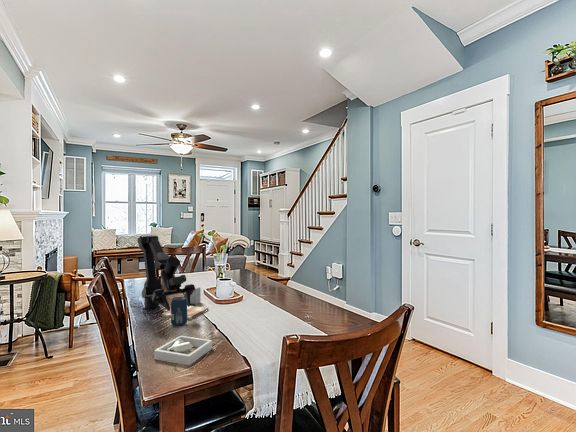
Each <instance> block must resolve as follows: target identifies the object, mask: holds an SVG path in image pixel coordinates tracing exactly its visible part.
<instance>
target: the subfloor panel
mask: <svg viewBox="0 0 576 432" xmlns="http://www.w3.org/2000/svg"><path fill="white" fill-rule="evenodd" d="M206 310H208V311H209V307H205V306H204V307H203V306H193V305H190V307H188V305H187V321H190V320H192V319H195V318H197V317H198V316H200V315H202V314H204V313H206V312H207V311H206ZM205 311H206V312H205ZM203 312H204V313H203ZM161 317H162V318H163V317H164V318H170V319H171V309H170V311H168V310H167V311H164V312H163V313H161Z"/></svg>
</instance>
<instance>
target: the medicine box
mask: <svg viewBox="0 0 576 432" xmlns="http://www.w3.org/2000/svg"><path fill="white" fill-rule="evenodd" d="M201 294H202V293H201V287H200V286H195V290H194V292H193V293H192V295H190V305H191V304H192V305H197V303H198V304H200V303H201V302H200V301H202V300H201V299H202V298H201ZM199 302H200V303H199Z"/></svg>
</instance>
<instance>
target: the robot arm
mask: <svg viewBox="0 0 576 432" xmlns="http://www.w3.org/2000/svg"><path fill="white" fill-rule="evenodd" d="M159 240H160V239H159V236H158V235H156V234H154V235H153V234H147V235H146V234H143V235H139V237H137V244H138V247H139V249H140V250H141V251H142V252H143V260H144V268H145V275H146V276H145V277H146V279H145V281H144V284H143V289H142V291H141V293H140V294H141V298H142V299H144V307H143V308H142V310H145V311H146V310H147V311H155V310H156V309H159V308H161V306H162V307H164V308H165V310H167V311H170V310H171V305H169V304H170V303H169V302H168V299H167V296H174V295H178V294H179V295H180V294H182V295H183V297H186V300H187V306H188V307H190V306H191V304H190V295H192V293H193V292H194V290H195V287H196V286H195V285H194V284H193V283H190V284H186V285H184V288H181V287H182V284H184V283H185V282H186V281H187V276H186V275H185V274H181V275H178V276H176V275H175V274H176V273H177V271H178V269H179V267H180V264H181V260H179V259H180V258H177V257H175V256H174V255H169V254H166V253H165V251H164V249H163V247H162V245H161V243H160V241H159ZM157 271H161V272H160V278H158V277H157ZM161 279H162V281H161ZM161 282H162V283H163V285H162V283H161ZM163 288H164V289H163Z"/></svg>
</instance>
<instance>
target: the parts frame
mask: <svg viewBox="0 0 576 432" xmlns="http://www.w3.org/2000/svg"><path fill="white" fill-rule="evenodd" d="M178 339H182V340H183V341H184V342H185V343H186V342H189V343H190V344H191V345H192V348H193V347H194V348H196V349H195V350H193V351H192V352H189V353H188V354H187V353H176V352H170V351H167V349H168V348H170V347H171V346H172V345H173V344H174V342H175V341H176V340H178ZM212 349H213V340H212V339H205V338H198V337H192V336H185V335H179V336H177V337H175V338H174V339H172V340H170V341H168V342H167V343H165V344H163V345H161V346H160V347H158V348H156V349H155V350H154V354H153V355H154V360H157V361H163V362H169V363H172V364H173V363H174V364H179V365H184V366H190V365H192V364H193V363H194V362H195V361H197V360H199V359H200V358H202V356H204V355H206V354H207V353H208V352H209V351H211V350H212Z"/></svg>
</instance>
